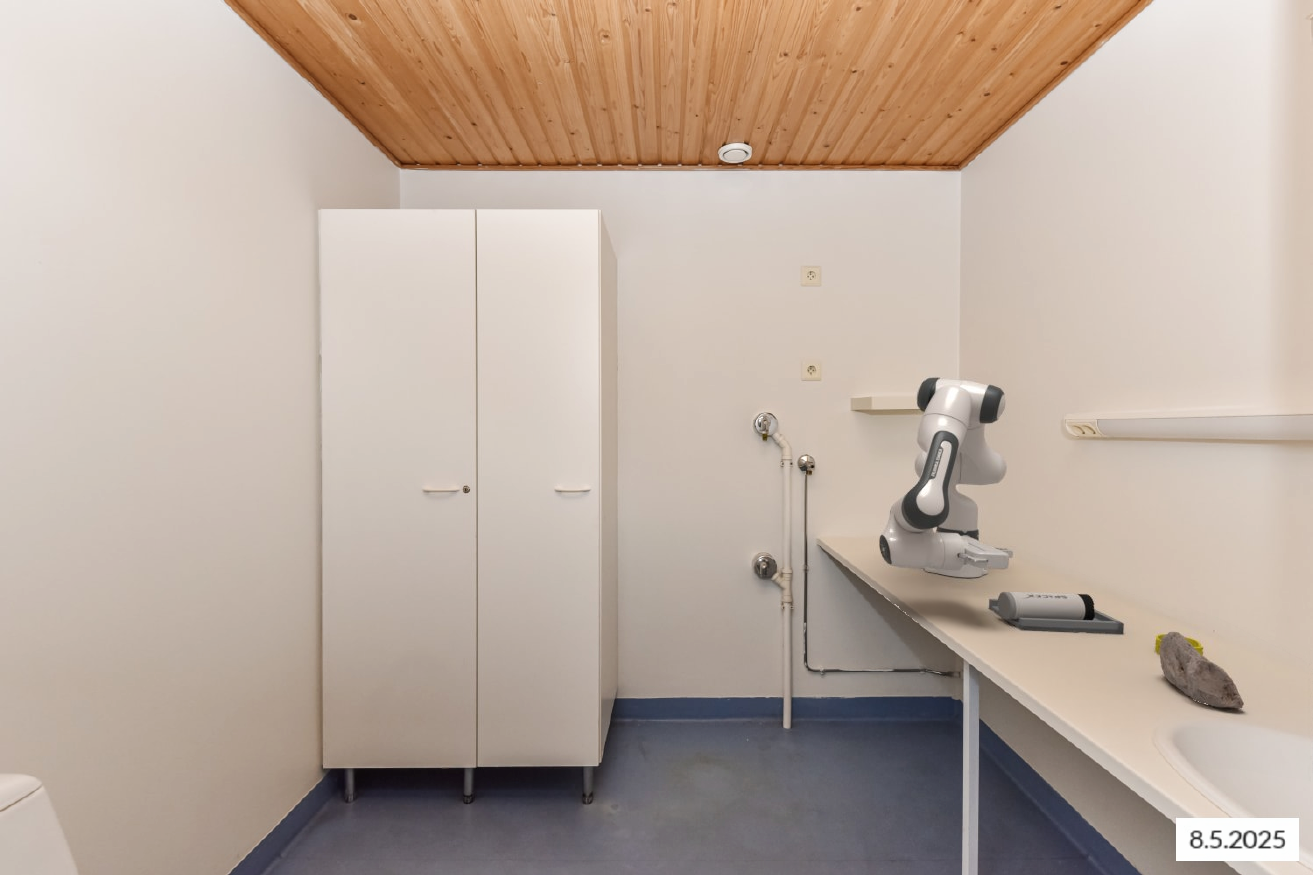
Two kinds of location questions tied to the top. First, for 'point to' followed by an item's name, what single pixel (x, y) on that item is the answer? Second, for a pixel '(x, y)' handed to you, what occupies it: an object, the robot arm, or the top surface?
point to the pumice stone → (1196, 673)
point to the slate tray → (1066, 623)
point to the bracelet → (1191, 641)
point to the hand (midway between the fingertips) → (1009, 553)
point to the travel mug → (1046, 606)
